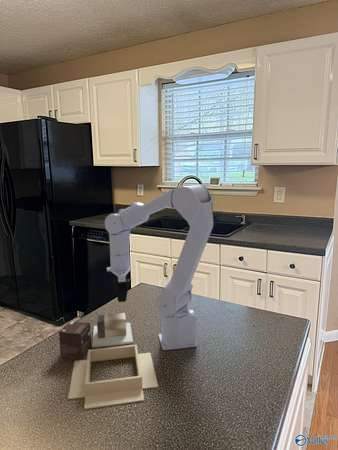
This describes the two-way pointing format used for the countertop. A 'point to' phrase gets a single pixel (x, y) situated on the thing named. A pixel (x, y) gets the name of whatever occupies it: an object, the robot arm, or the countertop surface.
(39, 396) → the countertop surface
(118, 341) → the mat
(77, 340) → the box
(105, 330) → the block
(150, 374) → the carton
